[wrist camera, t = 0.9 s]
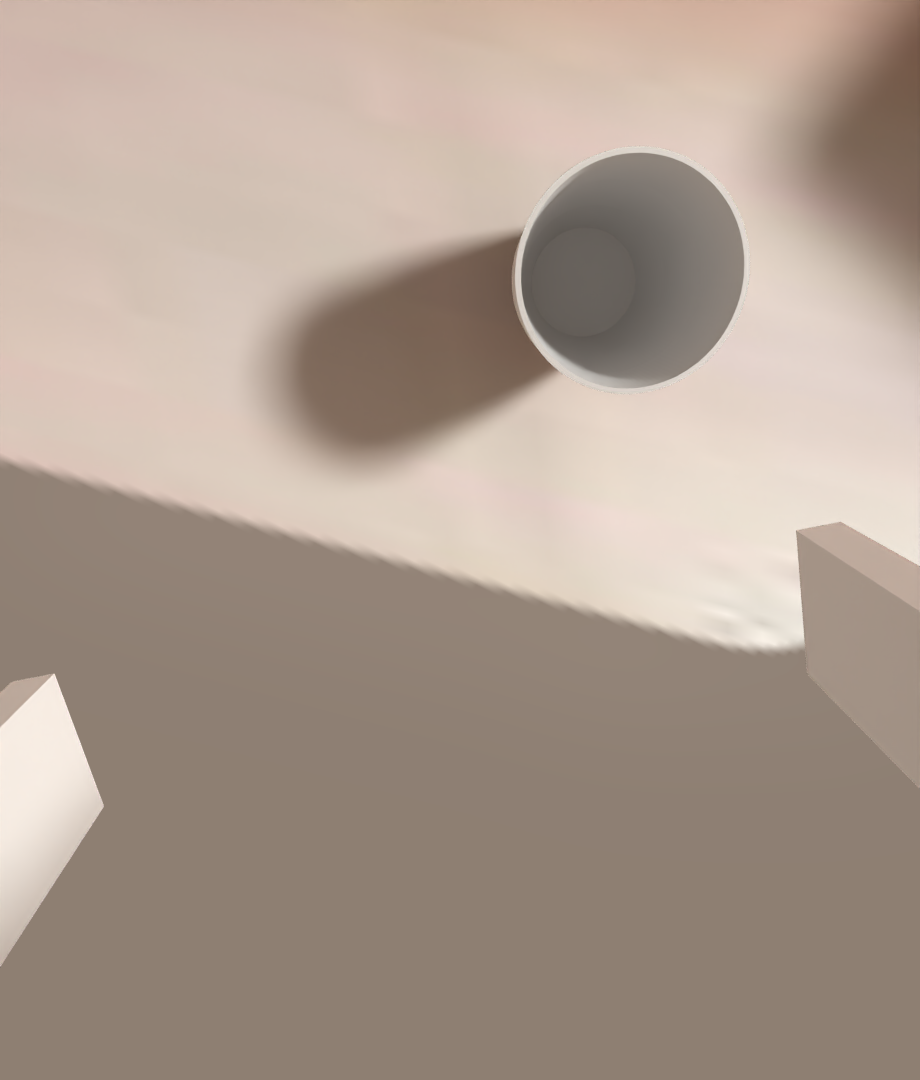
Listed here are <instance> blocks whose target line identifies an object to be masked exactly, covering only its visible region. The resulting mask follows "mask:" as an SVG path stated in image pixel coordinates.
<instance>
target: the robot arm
mask: <svg viewBox="0 0 920 1080" xmlns="http://www.w3.org/2000/svg"><path fill="white" fill-rule="evenodd" d="M796 534H797V547H798V560H799V573H800V586H801V599H802V612H803V625H804V638H805V651H806V664H807V674H808V675H809V676H810V677H811V678H812V679H813V680H814V682H815V683H816V684H818V686H819V687H820V688H822V690H823V691H824V692H825V693H826V694H827V695H828V696H829V697H830V698H831V699H832V700H833V701H834V702H835V703H836V704H837V705H838V706H839V707H840V708H841V709H842V710H843V711H844V712H845V713H846V714H847V715H848V716H849V717H850V718H851V719H852V720H853V721H854V722H855V723H856V724H857V725H858V726H859V727H860V728H861V729H862V730H863V732H864V733H866V734H867V736H868V737H869V738H870V739H871V740H872V741H873V742H874V743H875V744H876V745H877V746H878V747H879V748H880V749H881V750H882V751H883V752H884V753H885V754H886V755H887V756H888V757H889V758H890V759H891V760H892V761H893V762H894V763H895V764H896V765H897V766H898V767H899V768H900V769H901V770H902V771H903V772H904V773H905V774H906V775H907V776H908V777H909V778H910V779H911V780H912V781H913V782H914V784H916V786H917V787H918V788H919V789H920V566H918V565H916V564H915V563H913V562H911V561H909V560H908V559H906V558H904V557H902V556H900V555H899V554H897V553H895V552H893V551H892V550H890V549H888V548H886V547H884V546H883V545H881V544H879V543H877V542H875V541H874V540H872V539H870V538H868V537H867V536H865V535H863V534H861V533H859V532H858V531H856V530H854V529H852V528H851V527H849V526H847V525H845V524H843V523H842V522H838V523H833V524H828V525H822V526H817V527H812V528H807V529H802V530H797V531H796ZM103 807H104V805H103V803H102V800H101V798H100V795H99V792H98V789H97V786H96V784H95V781H94V779H93V776H92V773H91V771H90V768H89V765H88V763H87V760H86V757H85V754H84V752H83V749H82V746H81V744H80V741H79V738H78V736H77V733H76V730H75V728H74V725H73V723H72V720H71V717H70V714H69V712H68V709H67V706H66V704H65V701H64V698H63V696H62V693H61V690H60V688H59V685H58V682H57V679H56V677H55V674H50V675H44V676H39V677H34V678H29V679H23V680H18V681H13V682H11V683H10V684H9V685H8V686H7V687H6V688H5V689H4V690H2V692H0V966H1V964H2V963H3V961H4V960H5V958H6V957H7V955H8V953H9V952H10V950H11V949H12V947H13V946H14V944H15V943H16V941H17V940H18V938H19V937H20V935H21V933H22V932H23V930H24V929H25V927H26V926H27V924H28V923H29V921H30V919H31V918H32V916H33V915H34V913H35V912H36V910H37V909H38V907H39V906H40V904H41V903H42V901H43V900H44V898H45V896H46V895H47V893H48V892H49V890H50V889H51V887H52V886H53V884H54V883H55V881H56V879H57V878H58V876H59V875H60V873H61V871H62V870H63V869H64V867H65V866H66V864H67V862H68V861H69V859H70V858H71V856H72V855H73V853H74V851H75V850H76V848H77V847H78V845H79V844H80V842H81V841H82V839H83V838H84V836H85V835H86V833H87V831H88V830H89V828H90V827H91V825H92V824H93V822H94V821H95V819H96V817H97V816H98V815H99V813H100V811H101V810H102V808H103Z"/></svg>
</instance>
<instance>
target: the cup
mask: <svg viewBox="0 0 920 1080" xmlns="http://www.w3.org/2000/svg"><path fill="white" fill-rule="evenodd" d="M749 276H750V250H749V243H748V237H747V233H746V229H745V226H744V222H743V220H742V217H741V215H740V212H739V210H738V208H737V206H736V204H735V202H734V201H733V199H732V197H731V196H730V194H729V193H728V191H727V190H726V189H725V187H724V186H723V185H722V184H721V183H720V181H719V180H718V179H717V178H716V177H715V176H714V175H713V174H711V173H710V172H709V171H708V170H707V169H705V168H704V167H703V166H701V165H700V164H698V163H697V162H695V161H693V160H692V159H690V158H688V157H686V156H684V155H681V154H679V153H676V152H673V151H670V150H666V149H662V148H657V147H649V146H630V147H622V148H616V149H612V150H608V151H605V152H602V153H599V154H596V155H594V156H592V157H590V158H588V159H586V160H584V161H582V162H580V163H578V164H577V165H575V166H574V167H572V168H571V169H570V170H568V171H567V172H566V173H564V174H563V175H562V176H561V177H560V178H559V179H557V180H556V181H555V182H554V183H553V184H552V185H551V187H550V188H549V189H548V190H547V191H546V192H545V194H544V195H543V196H542V197H541V199H540V200H539V202H538V203H537V205H536V206H535V208H534V210H533V211H532V213H531V215H530V217H529V219H528V221H527V223H526V226H525V228H524V230H523V233H522V235H521V237H520V240H519V243H518V245H517V248H516V252H515V256H514V261H513V267H512V294H513V300H514V305H515V309H516V312H517V315H518V318H519V320H520V323H521V325H522V327H523V329H524V331H525V332H526V334H527V336H528V337H529V339H530V340H531V341H532V343H533V344H534V345H535V346H536V348H537V349H538V350H539V351H540V353H541V354H542V355H543V356H544V357H545V358H546V360H547V361H548V362H549V363H550V364H551V365H552V366H554V367H555V368H556V369H557V370H558V371H560V372H561V373H562V374H564V375H565V376H567V377H568V378H570V379H571V380H573V381H575V382H577V383H579V384H581V385H583V386H586V387H588V388H591V389H594V390H598V391H602V392H607V393H614V394H638V393H645V392H650V391H654V390H658V389H661V388H664V387H667V386H670V385H672V384H674V383H676V382H678V381H680V380H682V379H684V378H686V377H687V376H689V375H690V374H692V373H693V372H695V371H696V370H697V369H699V368H700V367H701V366H702V365H704V364H705V363H706V362H707V361H708V360H709V359H710V358H711V357H712V356H713V355H714V354H715V353H716V352H717V351H718V349H719V348H720V347H721V346H722V344H723V343H724V342H725V340H726V339H727V337H728V336H729V334H730V333H731V331H732V329H733V328H734V326H735V324H736V322H737V320H738V317H739V315H740V313H741V310H742V307H743V304H744V301H745V298H746V294H747V289H748V284H749Z"/></svg>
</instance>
